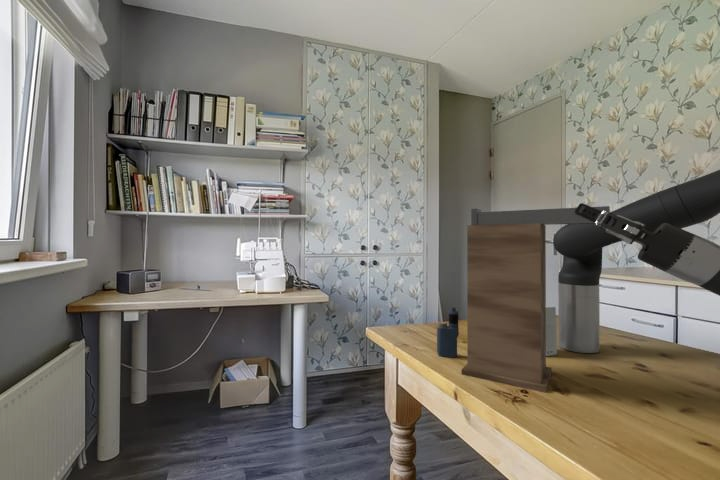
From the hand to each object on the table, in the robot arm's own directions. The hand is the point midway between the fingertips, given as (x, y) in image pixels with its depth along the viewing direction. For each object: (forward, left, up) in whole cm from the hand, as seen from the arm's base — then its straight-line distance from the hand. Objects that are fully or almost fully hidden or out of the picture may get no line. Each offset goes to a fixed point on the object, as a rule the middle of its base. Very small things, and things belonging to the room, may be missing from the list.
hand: (578, 208), depth 67 cm
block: (0, -8, -3) cm, 8 cm away
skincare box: (-20, -9, -35) cm, 41 cm away
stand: (0, -13, -35) cm, 37 cm away
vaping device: (-4, -28, -35) cm, 45 cm away
